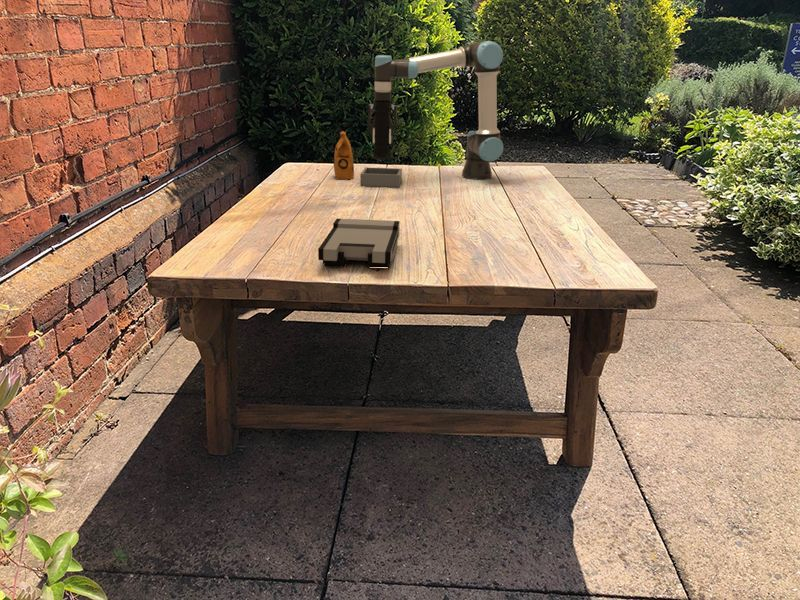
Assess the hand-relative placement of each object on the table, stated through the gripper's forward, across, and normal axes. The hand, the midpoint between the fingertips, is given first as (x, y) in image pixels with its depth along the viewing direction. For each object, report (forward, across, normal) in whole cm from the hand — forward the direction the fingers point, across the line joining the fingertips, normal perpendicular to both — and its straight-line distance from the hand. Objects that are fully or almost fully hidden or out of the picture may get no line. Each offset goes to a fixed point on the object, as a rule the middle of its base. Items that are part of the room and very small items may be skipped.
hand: (382, 142), depth 315 cm
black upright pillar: (+7, 0, 0) cm, 7 cm away
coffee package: (+19, +20, -12) cm, 30 cm away
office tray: (+20, -6, +120) cm, 121 cm away
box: (+19, 0, 0) cm, 19 cm away
